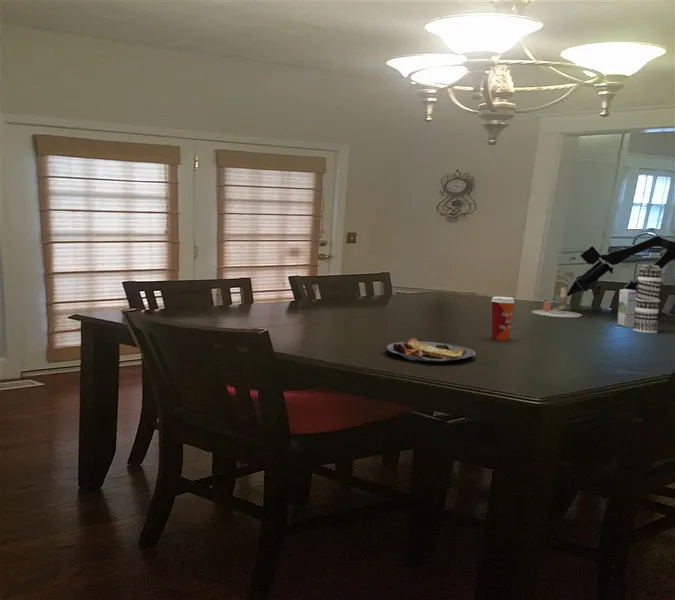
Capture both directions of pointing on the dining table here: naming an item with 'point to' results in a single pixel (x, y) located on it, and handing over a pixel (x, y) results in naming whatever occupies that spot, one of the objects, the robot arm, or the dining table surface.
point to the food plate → (429, 351)
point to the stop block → (547, 306)
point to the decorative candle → (647, 299)
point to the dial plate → (557, 313)
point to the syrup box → (627, 307)
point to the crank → (562, 299)
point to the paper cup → (501, 317)
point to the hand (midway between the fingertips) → (567, 295)
